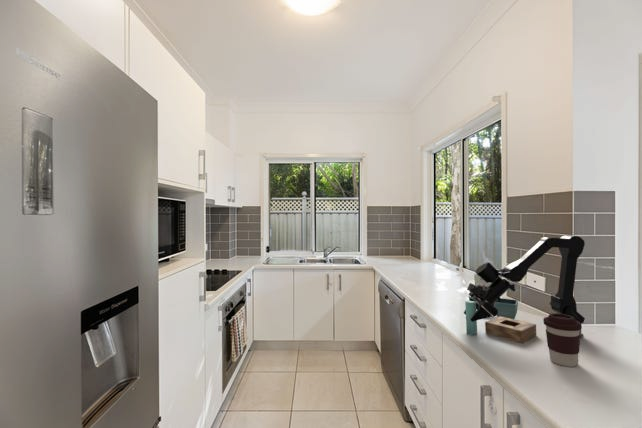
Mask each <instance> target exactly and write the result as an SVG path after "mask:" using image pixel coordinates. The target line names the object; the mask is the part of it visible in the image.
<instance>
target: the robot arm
mask: <svg viewBox="0 0 642 428" xmlns="http://www.w3.org/2000/svg"><path fill="white" fill-rule="evenodd" d="M585 244H586V243H585V240H584V239H583V237H580V236H577V235H569V234H566V235H562V236H561V237H547V236H544V237H541V238H540V240H539V241H538V242H537V243H536V244H535V245H534V246H532V247H531V248H530V249H529V250H528V251H527V252H526V253H525V254H523V256H521V257H520V258H519V259H518V260H515V261H513V262H510V263H509V264H508V265H506V266H504V267H503V268H499V269H497V268H496V267H494V266H493V265H492V263H490V262H489V261H487V262H485V263H483V264H481V265H479V266H478V267H477V268H476V270H475V273H474V274H477V275H478V276H479V277H481V278H482V279H483V280H484V281H485V282H486V283H489V282H490V283H491V284H490V285H489V286H488V287H482V286H480V285H477V286H476V285H475V283H471V282H469V285H468V286H467V288H466V291H468V293H467V295H468V296H467V297H468V301H474V302H476V312H475V314H474V315H473V316H472V318H471V319H470V320H471V321H472V322H474V321H477V322H478V321H481V320H483V319H487V318H490V317H491V318H493V317H494V318H496V317H497V314H498V310H497V309H496V308H495V307H494V306H493V305H492V304H493V303H495V302H496V301H497V300H499V301H500V300H501V298H502V296H503V295H504V294H505V293H506V292H507V291H508V290H511V291H512V292H516V288H515V286H516V284H514V283H519V282H521V281H523V279H524V278H525V277H526V275H527V273H528V271H529V269H531V267H532V266H533V265H534V264H535V263H536V262H538V260H539V259H541V258H543V256H545V254H547V252H549V251H550V250H551V249H552V248H558V251H559V253H560V255H561V262H560V270H559V279H558V289H557V292H556V294H555V295H553V294H551V295H550V303H549V306H550V308H551V310H552V311H553V312H554V313H559V314H566V315H570V316H573V317H574V318H575V319H576V321H578V322H580V323H581V324H584V321H585V319H586V318H585V317H584V316H583V315H582V314H581V313H580V312H578V308H577V302H576V299H575V297H574V290H575V283H576V282H575V280H576V274H577V264H578V259H579V257H581V255H582V254H583V251H584V248H585ZM501 277H502V278H501ZM509 281H511V282H513V283H510V282H509ZM477 309H478V310H477ZM463 314H464V315H465V316H466V308H464V311H463ZM491 314H492V315H493V316H492V315H491ZM579 334H580V339H581V338H582V337H583V336H584V334H583V333H582V329H581V330H579Z"/></svg>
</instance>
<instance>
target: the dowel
mask: <svg viewBox="0 0 642 428" xmlns="http://www.w3.org/2000/svg"><path fill="white" fill-rule="evenodd" d="M464 305H465V309H466V315H465V326H466V334H467V335H469V336H478V320H477V321H474V322H472V321H471V320H470V319H471V318H472V316H473V315H474V314H475V312H476V311H477V310H476V302H474V301H469V300H466V301H465V303H464Z"/></svg>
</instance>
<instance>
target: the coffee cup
mask: <svg viewBox="0 0 642 428" xmlns="http://www.w3.org/2000/svg"><path fill="white" fill-rule="evenodd" d="M543 325H545V335H546V342H547V348H548V352H549V353H548V354H549V359H550V361H551V362H553V364H557V365H559V366H563V367H569V368H570V367H571V368H574V367H578V365H579V353H580V346H581V345H580V344H581V338H580V334H579V330H581V331H582V330H583V329H582V325H583V323H580V322H578V321H576V319H575V318H574V317H573V316H570V315H566V314H559V313H555V312H554V313H553V312H552V313H549V315H548V316H546V317H545V316H544V318H543Z"/></svg>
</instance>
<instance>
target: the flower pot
mask: <svg viewBox="0 0 642 428" xmlns="http://www.w3.org/2000/svg"><path fill="white" fill-rule="evenodd" d="M500 298H501V300H500V301H499V300H497V301H496V302H495V303H494V306H495V308H496V309H497V310H498V314H497V315H496V317H499V316H502V317H506V318H511V319H515V318H516V316H517V313H518V307H519V306H518V305H519V300H518V299H511V298H503V297H500ZM515 320H516V319H515Z"/></svg>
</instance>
